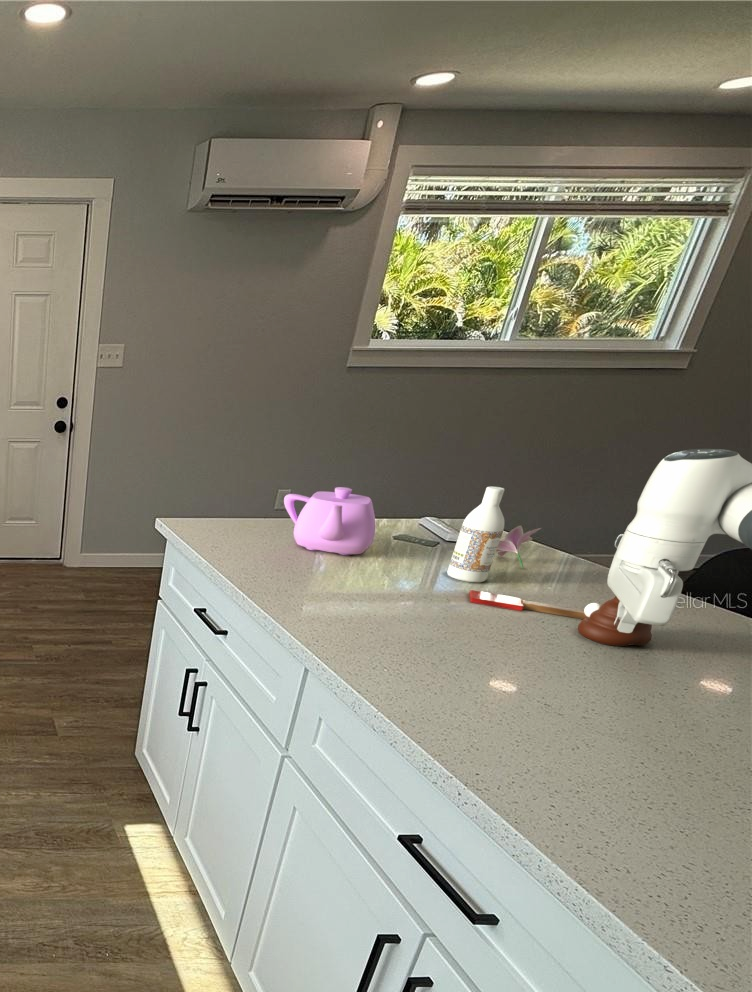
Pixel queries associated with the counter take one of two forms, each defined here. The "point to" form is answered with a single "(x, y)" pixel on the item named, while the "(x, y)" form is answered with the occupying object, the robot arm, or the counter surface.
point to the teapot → (333, 521)
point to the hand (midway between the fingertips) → (622, 629)
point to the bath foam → (478, 539)
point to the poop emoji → (611, 626)
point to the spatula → (522, 604)
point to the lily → (514, 541)
